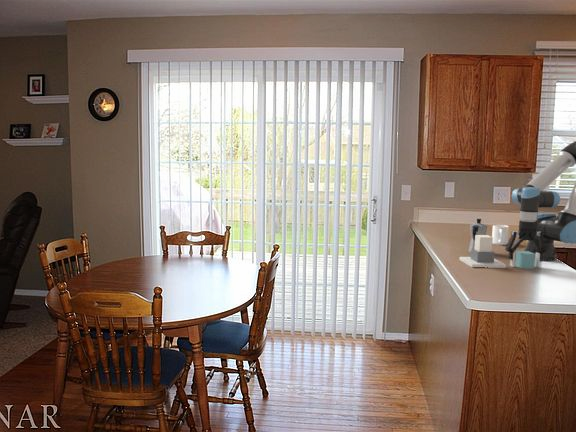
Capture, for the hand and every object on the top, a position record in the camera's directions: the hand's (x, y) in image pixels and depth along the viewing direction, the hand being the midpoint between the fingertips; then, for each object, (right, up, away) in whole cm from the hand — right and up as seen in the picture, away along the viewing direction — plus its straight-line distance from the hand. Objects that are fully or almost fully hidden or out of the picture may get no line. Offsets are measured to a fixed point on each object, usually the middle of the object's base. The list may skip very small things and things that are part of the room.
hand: (524, 266), depth 231 cm
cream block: (-18, +7, +4) cm, 20 cm away
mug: (+12, +7, +55) cm, 57 cm away
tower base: (-18, +1, +5) cm, 19 cm away
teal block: (0, 0, 0) cm, 0 cm away
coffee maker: (-10, +4, +32) cm, 34 cm away
